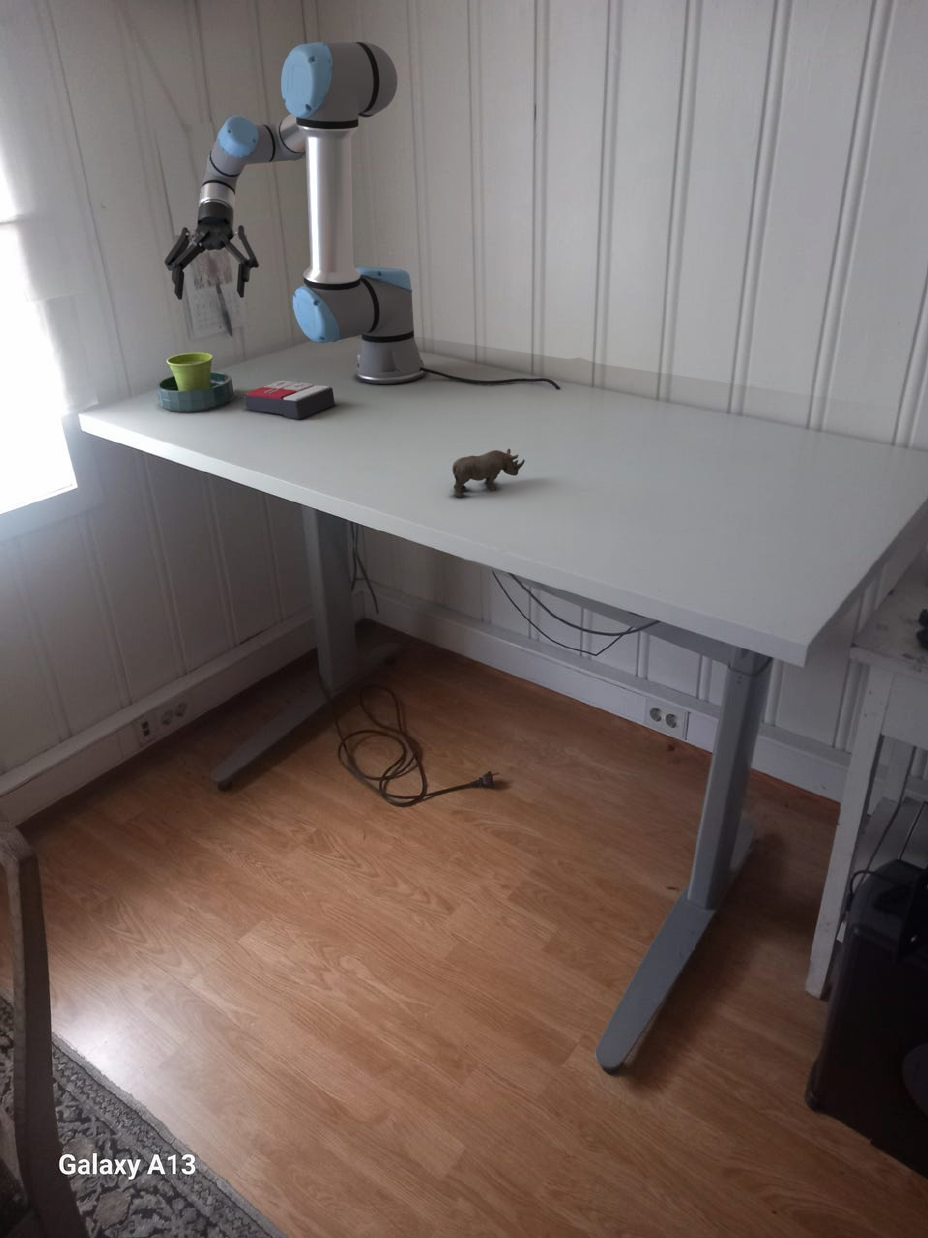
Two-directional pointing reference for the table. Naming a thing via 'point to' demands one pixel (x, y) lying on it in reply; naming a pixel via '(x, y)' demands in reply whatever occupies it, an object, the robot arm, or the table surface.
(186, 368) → the plant pot
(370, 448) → the table surface
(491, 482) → the rhino figurine
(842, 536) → the table surface
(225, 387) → the bowl
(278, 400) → the calculator
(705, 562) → the table surface
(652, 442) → the table surface
